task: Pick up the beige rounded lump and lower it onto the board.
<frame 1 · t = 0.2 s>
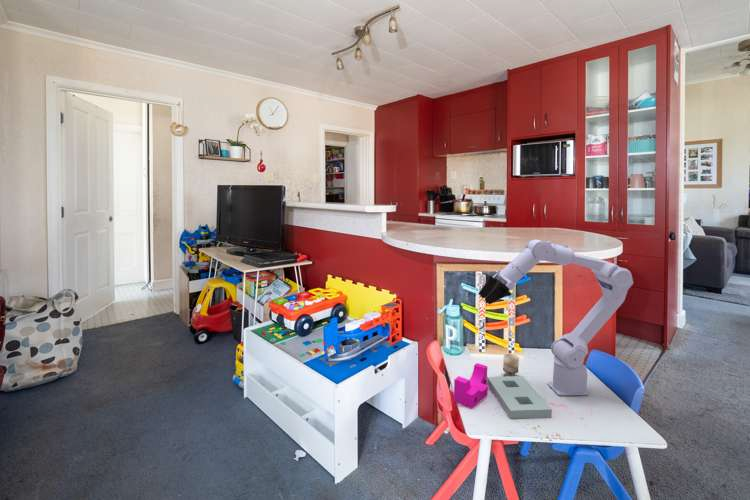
hand: (483, 299, 119), 31 cm above the table, tool tilted 45°, fingers open, 7 cm apart
toy block: (474, 396, 121), on the table
board: (516, 399, 118), on the table
beige rounded lump: (510, 376, 133), on the table
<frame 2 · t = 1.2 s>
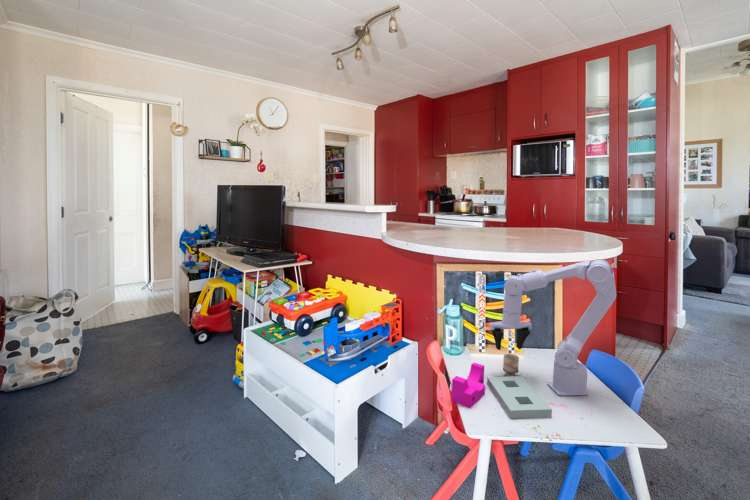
hand: (508, 348, 132), 10 cm above the table, tool pointing down, fingers open, 7 cm apart
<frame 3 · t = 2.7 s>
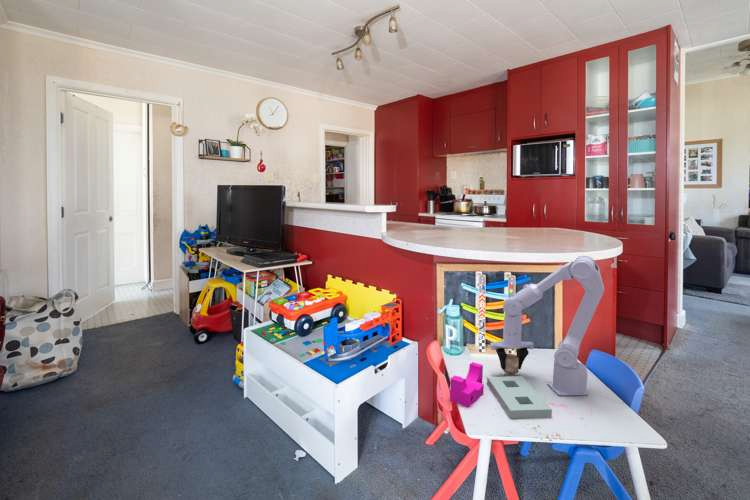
hand: (510, 368, 133), 3 cm above the table, tool pointing down, fingers closed on beige rounded lump, 5 cm apart
beige rounded lump: (510, 376, 133), on the table, touching gripper
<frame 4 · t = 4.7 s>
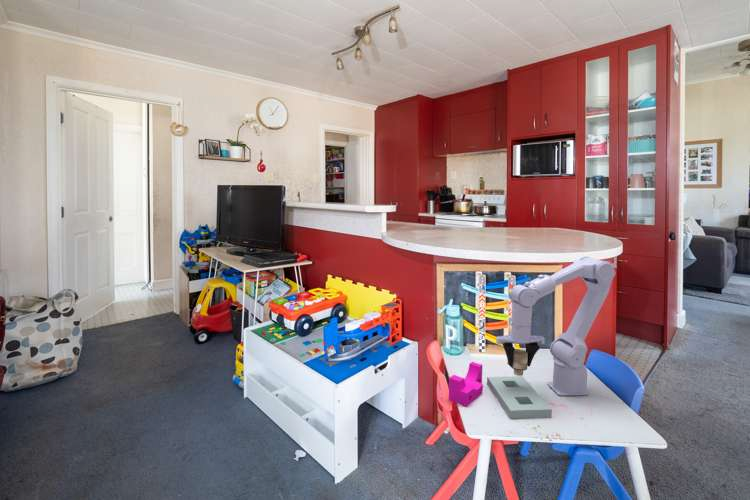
hand: (519, 365, 120), 10 cm above the table, tool pointing down, fingers closed on beige rounded lump, 5 cm apart
beige rounded lump: (518, 373, 120), point 7 cm above the table, touching gripper
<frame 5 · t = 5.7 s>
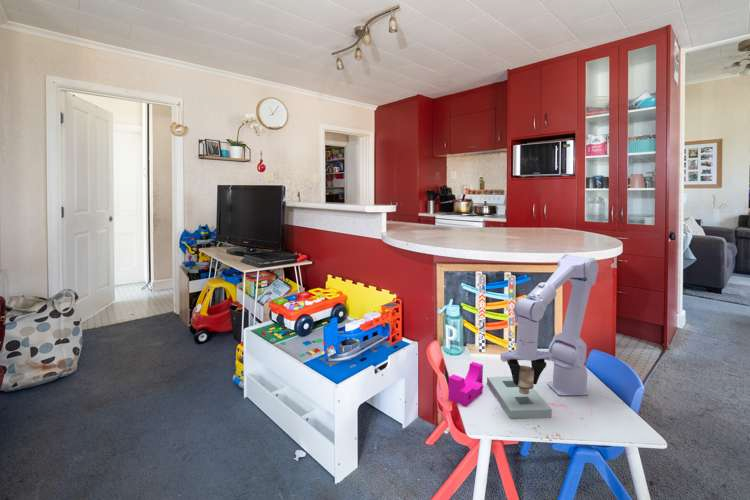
hand: (524, 383, 112), 8 cm above the table, tool pointing down, fingers closed on beige rounded lump, 5 cm apart
beige rounded lump: (524, 392, 113), point 5 cm above the table, touching gripper
when the fingers open (4 cm above the table, at t = 6.8 s): beige rounded lump drops 1 cm, resting on board.
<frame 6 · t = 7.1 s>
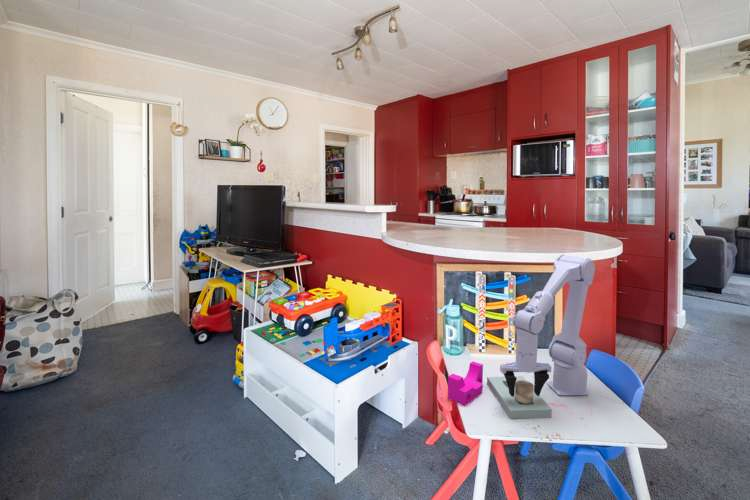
hand: (524, 394, 113), 4 cm above the table, tool pointing down, fingers open, 7 cm apart
beige rounded lump: (523, 406, 113), resting on board
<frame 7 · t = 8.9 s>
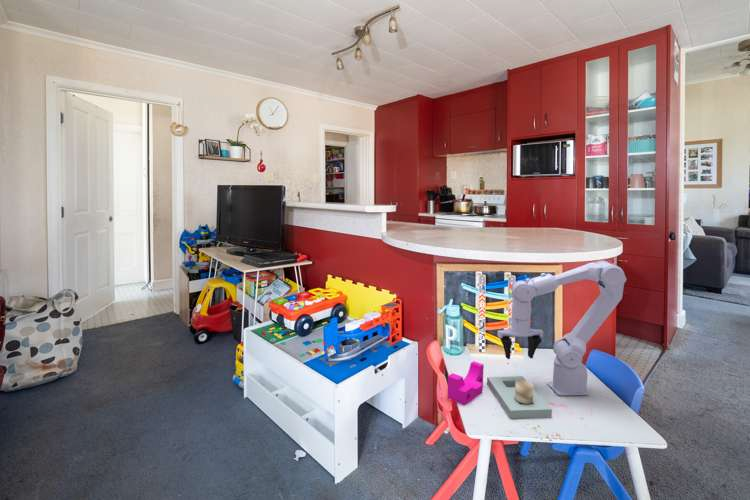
hand: (519, 357, 125), 10 cm above the table, tool pointing down, fingers open, 7 cm apart
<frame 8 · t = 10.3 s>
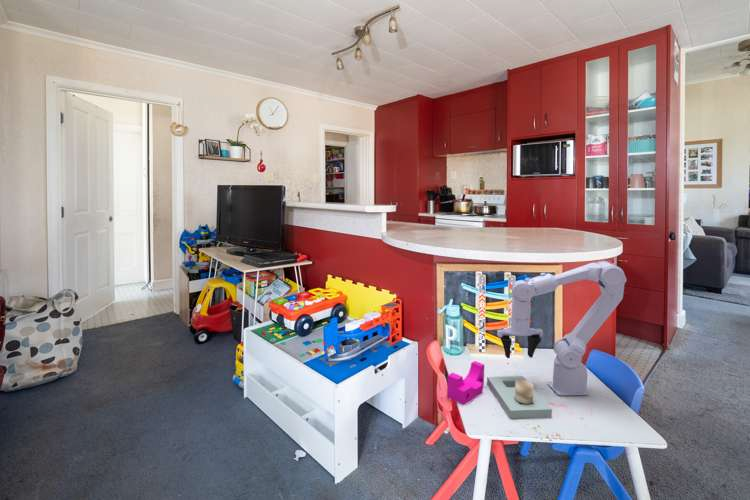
hand: (518, 356, 126), 10 cm above the table, tool pointing down, fingers open, 7 cm apart
at the end: beige rounded lump 0.2 cm from the target spot on the board, point 0.3 cm above the board's base; beige rounded lump tilted 0°; the gripper is holding nothing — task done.
